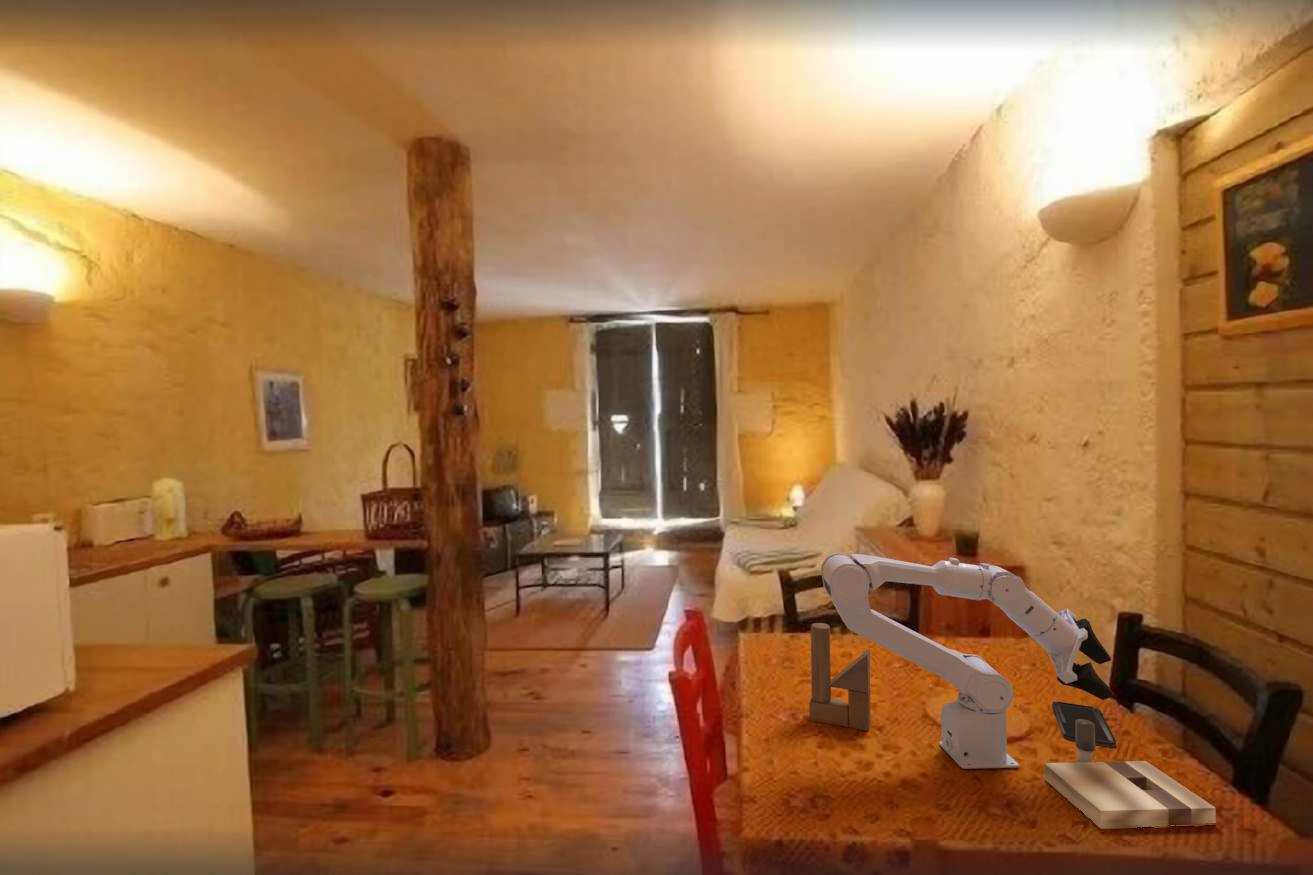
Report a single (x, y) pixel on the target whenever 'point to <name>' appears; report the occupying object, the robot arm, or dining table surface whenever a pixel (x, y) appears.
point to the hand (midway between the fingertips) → (1106, 678)
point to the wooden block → (838, 685)
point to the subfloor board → (1127, 794)
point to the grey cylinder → (1085, 740)
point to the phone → (1072, 712)
